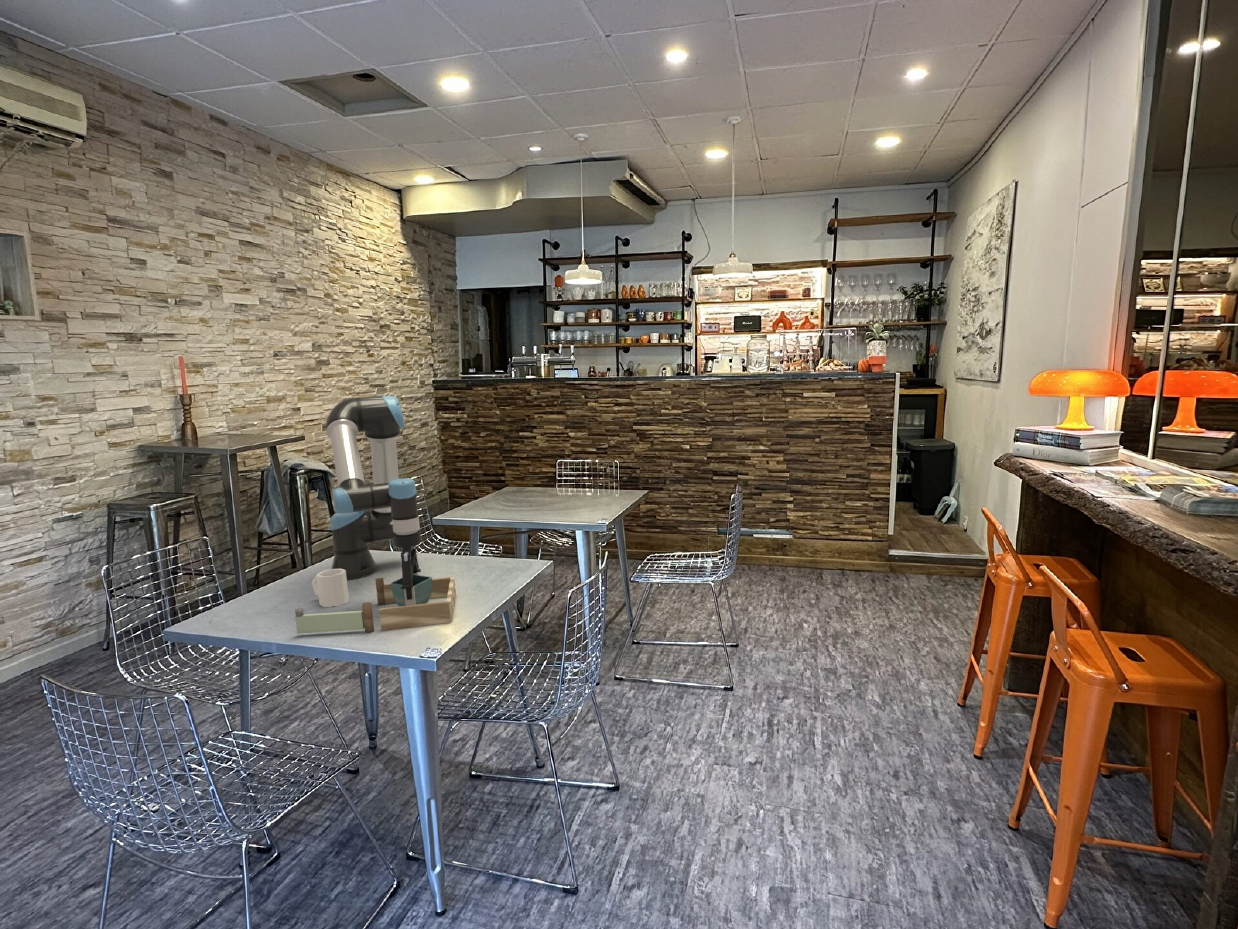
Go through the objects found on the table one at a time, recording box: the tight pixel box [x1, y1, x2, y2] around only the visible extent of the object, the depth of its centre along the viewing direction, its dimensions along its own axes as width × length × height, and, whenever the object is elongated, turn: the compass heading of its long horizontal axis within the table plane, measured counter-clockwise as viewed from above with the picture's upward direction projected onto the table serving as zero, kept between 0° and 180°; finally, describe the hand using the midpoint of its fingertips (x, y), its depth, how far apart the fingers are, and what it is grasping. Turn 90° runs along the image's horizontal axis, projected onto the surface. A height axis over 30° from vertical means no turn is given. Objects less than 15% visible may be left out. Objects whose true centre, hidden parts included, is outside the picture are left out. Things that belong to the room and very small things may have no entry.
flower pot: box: [389, 574, 433, 607], centre depth 193 cm, size 9×9×9 cm
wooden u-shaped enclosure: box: [361, 576, 457, 634], centre depth 193 cm, size 24×24×8 cm
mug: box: [310, 568, 350, 608], centre depth 205 cm, size 12×9×10 cm
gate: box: [294, 607, 365, 634], centre depth 180 cm, size 18×2×7 cm, turn 93°
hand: (413, 601), depth 194 cm, fingers open, 12 cm apart
